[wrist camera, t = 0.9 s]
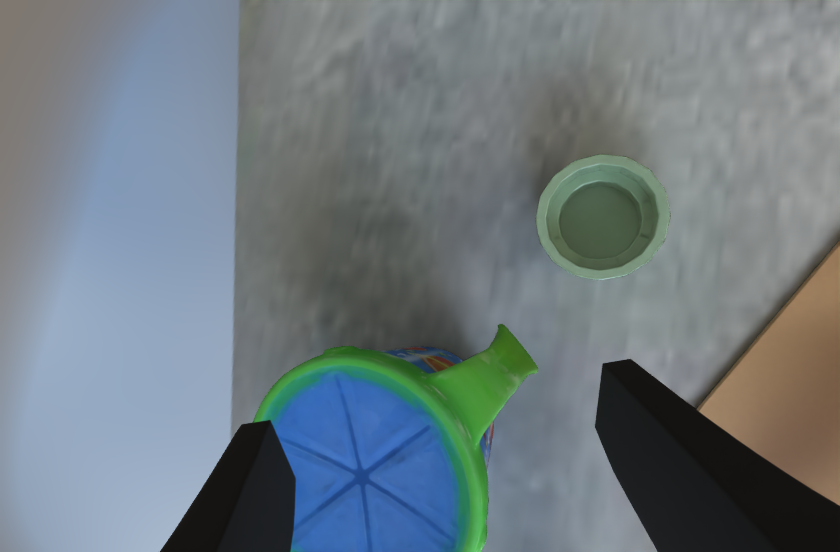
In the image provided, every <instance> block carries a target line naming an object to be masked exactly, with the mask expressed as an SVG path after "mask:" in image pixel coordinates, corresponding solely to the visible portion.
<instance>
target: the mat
mask: <svg viewBox="0 0 840 552" xmlns="http://www.w3.org/2000/svg"><path fill="white" fill-rule="evenodd" d="M696 410H698V411H699V412H700V413H702V414H703V415H704V416H706V417H707V418H708V419H710V420H711V421H712V422H714V423H715V424H717V425H718V426H719V427H721V428H722V429H723V430H725V431H726V432H728V433H729V434H730V435H732V436H733V437H734V438H736V439H737V440H739V441H740V442H742V443H743V444H744V445H746V446H747V447H749V448H750V449H752V450H753V451H754V452H756V453H757V454H759V455H760V456H762V457H763V458H765V459H766V460H768V461H769V462H771V463H772V464H774V465H775V466H777V467H778V468H780V469H781V470H783V471H784V472H786V473H787V474H789V475H790V476H792V477H794V478H795V479H797V480H798V481H800V482H801V483H803V484H805V485H806V486H808V487H809V488H811V489H813V490H814V491H816V492H818V493H819V494H821V495H823V496H824V497H826V498H828V499H829V500H831V501H833V502H834V503H836V504H838V505H839V506H840V240H839V241H838V243H837V244H836V245H835V246H834V247H833V249H832V250H831V251H830V252H829V253H828V254H827V256H826V257H825V258H824V259H823V260H822V261H821V263H820V264H819V265H818V266H817V267H816V269H815V270H814V271H813V272H812V273H811V274H810V276H809V277H808V278H807V279H806V280H805V282H804V283H803V284H802V285H801V286H800V287H799V289H798V290H797V291H796V292H795V293H794V295H793V296H792V297H791V298H790V299H789V300H788V302H787V303H786V304H785V305H784V306H783V307H782V309H781V310H780V311H779V312H778V313H777V315H776V316H775V317H774V318H773V319H772V320H771V322H770V323H769V324H768V325H767V326H766V328H765V329H764V330H763V331H762V332H761V333H760V335H759V336H758V337H757V338H756V339H755V341H754V342H753V343H752V344H751V345H750V346H749V348H748V349H747V350H746V351H745V352H744V353H743V355H742V356H741V357H740V358H739V359H738V361H737V362H736V363H735V364H734V365H733V366H732V368H731V369H730V370H729V371H728V372H727V374H726V375H725V376H724V377H723V378H722V379H721V381H720V382H719V383H718V384H717V385H716V387H715V388H714V389H713V390H712V391H711V392H710V394H709V395H708V396H707V397H706V398H705V399H704V401H703V402H702V403H701V404H700V405H699V407H698V408H697V409H696Z"/></svg>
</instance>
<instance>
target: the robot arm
mask: <svg viewBox="0 0 840 552" xmlns="http://www.w3.org/2000/svg"><path fill="white" fill-rule="evenodd" d="M595 428H596V430H597V433H598V435H599V438H600V440H601V443H602V445H603V448H604V450H605V453H606V455H607V457H608V460H609V462H610V464H611V467H612V469H613V471H614V473H615V475H616V477H617V479H618V481H619V483H620V484H621V486H622V488H623V490H624V492H625V494H626V495H627V497H628V499H629V501H630V503H631V504H632V506H633V508H634V510H635V512H636V513H637V515H638V517H639V519H640V521H641V522H642V524H643V526H644V528H645V530H646V531H647V533H648V535H649V537H650V539H651V540H652V542H653V544H654V546H655V548H656V549H657V551H658V552H840V506H839V505H838V504H836V503H834V502H833V501H831V500H829V499H828V498H826V497H824V496H823V495H821V494H819V493H818V492H816V491H814V490H813V489H811V488H809V487H808V486H806V485H805V484H803V483H801V482H800V481H798V480H797V479H795V478H794V477H792V476H790V475H789V474H787V473H786V472H784V471H783V470H781V469H780V468H778V467H777V466H775V465H774V464H772V463H771V462H769V461H768V460H766V459H765V458H763V457H762V456H760V455H759V454H757V453H756V452H754V451H753V450H752V449H750V448H749V447H747V446H746V445H744V444H743V443H742V442H740V441H739V440H737V439H736V438H734V437H733V436H732V435H730V434H729V433H728V432H726V431H725V430H723V429H722V428H721V427H719V426H718V425H717V424H715V423H714V422H712V421H711V420H710V419H708V418H707V417H706V416H704V415H703V414H702V413H700V412H699V411H698V410H696V409H695V408H694V407H692V406H691V405H690V404H688V403H687V402H686V401H684V400H683V399H682V398H681V397H679V396H678V395H677V394H675V393H674V392H673V391H671V390H670V389H669V388H668V387H666V386H665V385H664V384H662V383H661V382H660V381H658V380H657V379H656V378H655V377H653V376H652V375H651V374H649V373H648V372H647V371H646V370H644V369H643V368H642V367H640V366H639V365H638V364H636V363H635V362H634V361H633V360H631V359H627V360H621V361H615V362H609V363H603V366H602V374H601V382H600V390H599V398H598V407H597V415H596V423H595ZM295 492H296V477H295V475H294V473H293V471H292V468H291V466H290V464H289V461H288V459H287V457H286V454H285V452H284V450H283V448H282V445H281V443H280V441H279V438H278V436H277V434H276V431H275V429H274V427H273V425H272V422H271V420H266V421H260V422H254V423H248V424H242V425H241V426H240V428H239V429H238V430H237V432H236V434H235V435H234V437H233V438H232V440H231V442H230V443H229V445H228V447H227V449H226V450H225V452H224V453H223V455H222V457H221V459H220V460H219V462H218V463H217V465H216V467H215V468H214V470H213V471H212V473H211V475H210V476H209V478H208V479H207V481H206V483H205V484H204V486H203V487H202V489H201V491H200V492H199V494H198V495H197V497H196V498H195V500H194V501H193V503H192V504H191V506H190V508H189V509H188V511H187V512H186V514H185V515H184V517H183V518H182V520H181V522H180V523H179V524H178V526H177V528H176V529H175V531H174V532H173V534H172V535H171V536H170V538H169V539H168V541H167V542H166V544H165V545H164V547H163V548H162V549H161V551H160V552H290V551H291V544H292V538H293V531H294V516H295Z"/></svg>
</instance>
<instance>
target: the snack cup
mask: <svg viewBox="0 0 840 552" xmlns="http://www.w3.org/2000/svg"><path fill="white" fill-rule="evenodd" d="M498 328H499V329H498V332H497V334H496V336H495V338H494V340H493V342H492V343H491V345H490V347H489V348H487V349H486V350H484V351H482V352H480V353H478V354H476V355H474V356H473V357H471V358H469V359H467V360H465V361H463V360H462V359H460V358H458V357H457V356H455V355H453V354H452V353H450V352H447V351H445V350H441V349H436V348H432V347H410V348H401V349H394V350H386V351H376V350H368V349H359V348H357V347H354V346H341V347H334V348H330V349H327V350H325V351H324V354H322V355H320V356H317V357H314V358H312V359H310V360H308V361H306V362H304V363H302V364H300V365H298V366H296V367H295V368H293V369H291V370H290V371H289V372H287V373H286V374H284V375H283V376H282V377H281V378H280V379H279V380H278V381H277V382H276V383H275V384H274V385H273V386H272V388H271V389H270V391H269V392H268V393H267V395H266V396H265V398H264V399H263V401H262V403H261V405H260V407H259V409H258V411H257V413H256V415H255V418H254V421H253V423H254V422H260V421H266V420H271V422H272V425H273V427H274V429H275V431H276V434H277V436H278V438H279V441H280V443H281V445H282V448H283V450H284V452H285V454H286V457H287V459H288V461H289V464H290V466H291V468H292V471H293V473H294V475H295V477H296V492H295V516H294V531H293V538H292V544H291V551H290V552H482V549H483V547H484V544H485V542H486V538H487V525H486V519H487V514H488V502H489V498H488V476H487V468H488V462H489V457H490V450H491V443H492V437H493V427H494V424H493V420H494V419H495V417H496V416H497V414H498V413H499V412H500V410H501V409H502V408H503V406H504V405H505V403H506V402H507V401H508V399H509V398H510V397H511V396H512V395H513V393H514V392H515V391H516V390H517V389H518V387H519V386H520V384H521V383H522V382H523V381H524V380H525V378H526V377H527V376H528V375H530V374H536V373H537V372H538V367H537V365H536V364H535V362H534V361H533V359H532V358H531V357H530V355H529V354H528V353H527V351H526V350H525V349H524V347H523V346H522V345H521V344H520V343H519V341H518V340H517V339H516V338H515V336H514V335H513V334H512V333H511V332H510V331H509V330H508V329H507V328H506V327H505V325H503V324H499V325H498Z"/></svg>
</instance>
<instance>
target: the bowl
mask: <svg viewBox="0 0 840 552" xmlns="http://www.w3.org/2000/svg"><path fill="white" fill-rule="evenodd" d="M670 214H671V213H670V208H669V204H668V199H667V194H666V191H665V188H664V187H663V186H662V184H661V183H660V182H659V180H658V179H657V178H656V176H655V175H654V174H653V173H652V171H651V170H649V168H647V167H645V166H643V165H641V164H639V163H638V162H636V161H634V160H632V159H630V158H629V157H626V156H617V155H608V154H601V155H600V154H598V155H594V156H590V157H586V158H582V159H579V160H576V161H573V162H572V163H571V164H569V165H568V166H566V167H565V168H564V169H562V170H561V171H559V172H558V173H556V174H555V175H554V176H553V177H552V179H551V180H550V182H549V183H548V185H547V186H546V188H545V189H544V191H543V192H542V194H541V196H540V199H539V204H538V208H537V213H536V218H535V219H536V226H537V231H538V236H539V241H540V244H541V245H542V247H543V248H544V249H545V251H546V252H547V254H548V255H549V257H550V258H551V260H552V261H553V262H554V263H555V264H557V265H558V266H560V267H561V268H563V269H565V270H566V271H568V272H569V273H571V274H572V275H575V276H579V277H584V278H589V279H594V280H605V279H611V278H617V277H623V276H625V275H628V274H630V273H631V272H633V271H635V270H636V269H638V268H640V267H641V266H643V265H645V264H646V263H648V261H650V260H651V259H652V257H653V256H654V255H655V253H656V252H657V251H658V249H659V248H660V247H661V245H662V244H663V243H664V240H665V238H666V234H667V230H668V226H669V221H670V217H671V216H670Z"/></svg>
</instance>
